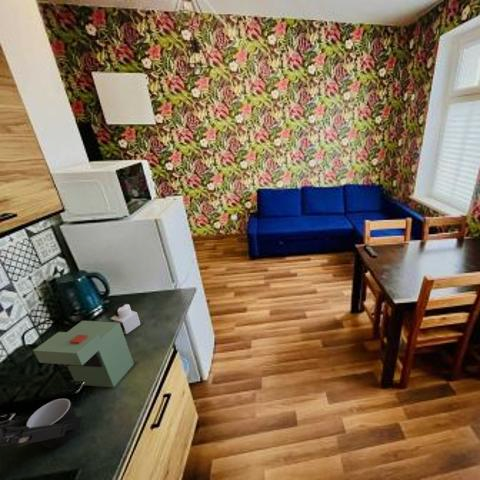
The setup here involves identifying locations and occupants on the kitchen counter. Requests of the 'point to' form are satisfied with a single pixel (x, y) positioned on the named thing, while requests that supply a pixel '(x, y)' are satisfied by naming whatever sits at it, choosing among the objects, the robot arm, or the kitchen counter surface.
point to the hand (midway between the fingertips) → (61, 420)
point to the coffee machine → (89, 352)
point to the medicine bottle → (125, 317)
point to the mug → (54, 420)
